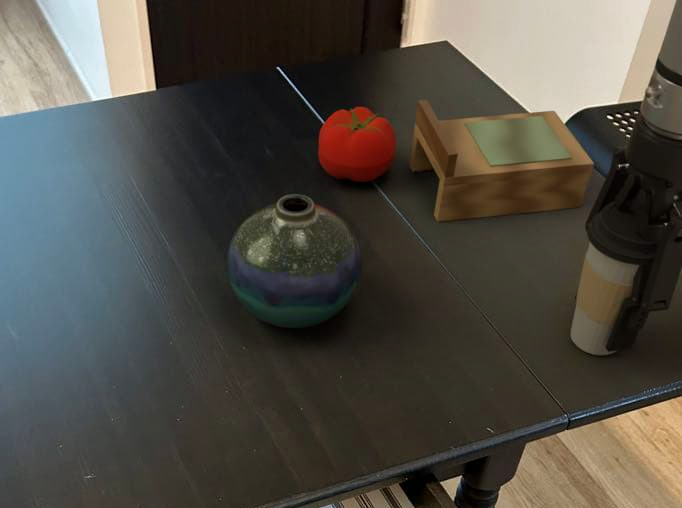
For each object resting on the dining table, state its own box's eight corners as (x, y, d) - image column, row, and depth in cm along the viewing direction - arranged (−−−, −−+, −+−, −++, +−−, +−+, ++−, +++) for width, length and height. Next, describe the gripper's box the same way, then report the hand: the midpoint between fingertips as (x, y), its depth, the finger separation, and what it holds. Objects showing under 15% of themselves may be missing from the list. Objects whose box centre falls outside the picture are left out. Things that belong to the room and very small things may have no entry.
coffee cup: (612, 377, 91) (662, 259, 79) (538, 340, 95) (575, 222, 83) (653, 335, 95) (706, 217, 83) (580, 301, 99) (621, 183, 87)
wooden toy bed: (542, 153, 119) (560, 87, 112) (580, 207, 111) (601, 140, 104) (409, 166, 117) (418, 100, 110) (437, 222, 109) (448, 154, 102)
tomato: (381, 198, 112) (387, 144, 106) (305, 183, 115) (307, 129, 109) (401, 159, 118) (408, 106, 112) (329, 145, 120) (332, 93, 114)
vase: (263, 255, 105) (262, 153, 94) (376, 287, 101) (388, 185, 90) (206, 326, 96) (197, 223, 86) (326, 364, 93) (333, 261, 82)
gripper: (595, 71, 80) (537, 271, 99) (695, 187, 68) (608, 390, 86) (667, 64, 81) (596, 264, 99) (779, 178, 69) (675, 381, 87)
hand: (602, 322), depth 93 cm, fingers closed on coffee cup, 8 cm apart
